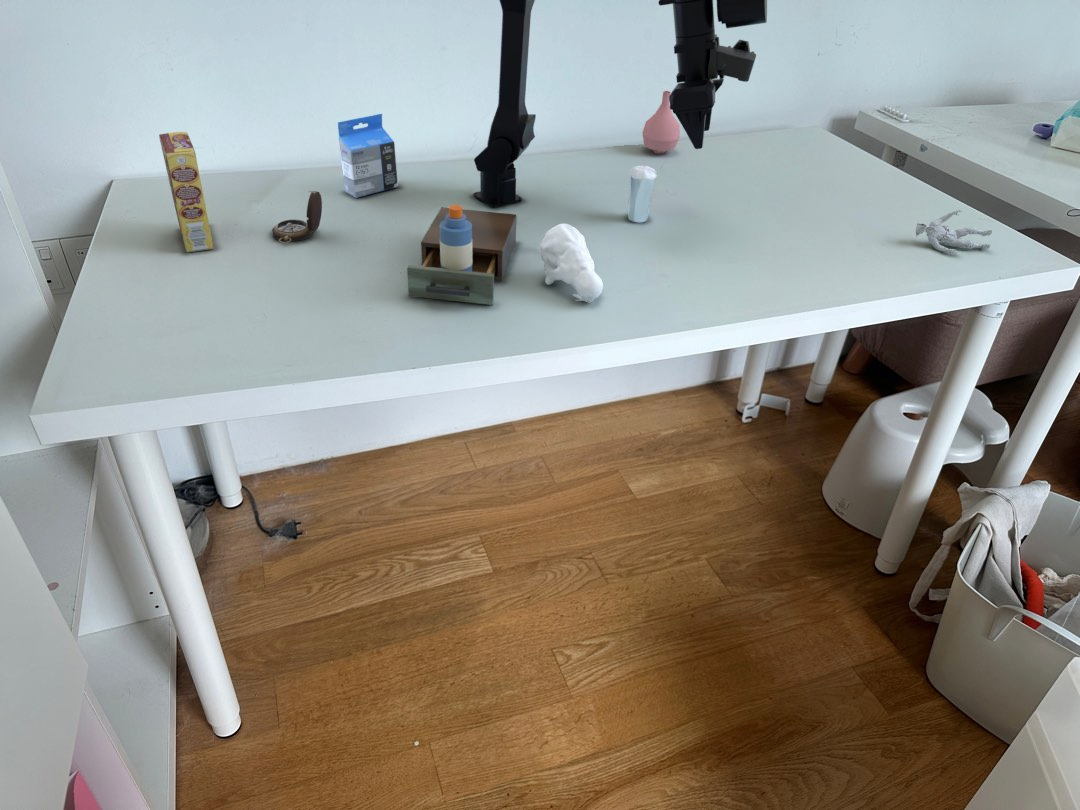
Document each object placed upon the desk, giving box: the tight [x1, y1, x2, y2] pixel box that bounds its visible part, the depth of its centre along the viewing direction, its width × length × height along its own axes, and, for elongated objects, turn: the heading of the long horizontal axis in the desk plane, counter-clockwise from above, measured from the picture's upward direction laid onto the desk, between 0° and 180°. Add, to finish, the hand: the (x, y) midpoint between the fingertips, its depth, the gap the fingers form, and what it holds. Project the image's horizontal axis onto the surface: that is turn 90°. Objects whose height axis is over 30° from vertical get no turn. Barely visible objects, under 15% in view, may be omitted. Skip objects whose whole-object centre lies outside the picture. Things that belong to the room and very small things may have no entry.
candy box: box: [158, 131, 214, 253], centre depth 118 cm, size 9×4×15 cm, turn 26°
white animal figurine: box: [539, 223, 604, 304], centre depth 113 cm, size 6×8×12 cm
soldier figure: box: [915, 209, 993, 255], centre depth 132 cm, size 8×5×12 cm
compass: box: [271, 190, 323, 244], centre depth 123 cm, size 8×8×7 cm
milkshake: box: [627, 164, 664, 224], centre depth 134 cm, size 4×5×10 cm
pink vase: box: [642, 90, 681, 155], centre depth 161 cm, size 8×8×12 cm
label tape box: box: [337, 113, 399, 199], centre depth 138 cm, size 9×4×12 cm, turn 131°
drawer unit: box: [420, 206, 517, 282], centre depth 121 cm, size 13×12×5 cm
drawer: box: [406, 248, 498, 306], centre depth 114 cm, size 15×12×4 cm
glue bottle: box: [440, 204, 473, 271], centre depth 110 cm, size 4×4×11 cm
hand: (702, 139), depth 125 cm, fingers open, 9 cm apart
